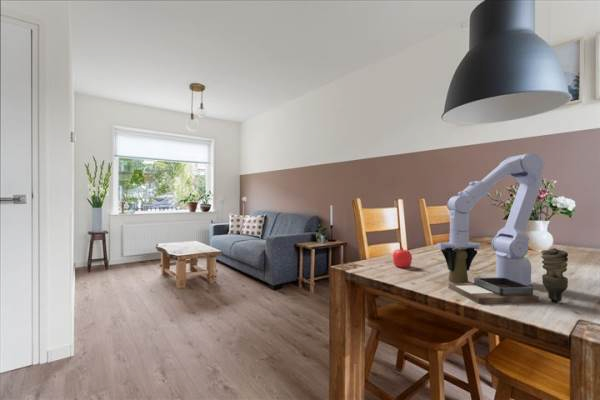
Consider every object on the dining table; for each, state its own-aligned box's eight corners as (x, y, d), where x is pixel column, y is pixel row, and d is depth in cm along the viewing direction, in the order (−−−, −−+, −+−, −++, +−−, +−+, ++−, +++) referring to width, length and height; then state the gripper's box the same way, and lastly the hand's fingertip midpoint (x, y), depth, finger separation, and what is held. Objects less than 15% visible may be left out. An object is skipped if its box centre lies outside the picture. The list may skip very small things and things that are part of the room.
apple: (416, 268, 112) (416, 249, 112) (397, 269, 111) (397, 249, 111) (406, 264, 120) (406, 245, 120) (388, 264, 119) (388, 245, 119)
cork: (451, 283, 93) (451, 250, 93) (446, 278, 99) (446, 247, 99) (471, 284, 92) (471, 251, 92) (465, 279, 98) (465, 248, 97)
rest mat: (476, 285, 86) (476, 285, 86) (493, 293, 79) (493, 292, 79) (455, 286, 85) (455, 285, 85) (471, 294, 78) (471, 293, 78)
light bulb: (539, 301, 77) (540, 247, 77) (541, 296, 81) (542, 245, 81) (567, 307, 73) (568, 250, 73) (567, 302, 77) (569, 248, 77)
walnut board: (500, 286, 90) (500, 282, 90) (538, 301, 77) (538, 296, 77) (448, 287, 88) (448, 283, 88) (478, 303, 75) (478, 298, 75)
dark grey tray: (503, 283, 89) (503, 277, 89) (534, 294, 78) (534, 287, 78) (473, 284, 88) (473, 277, 87) (500, 295, 77) (500, 288, 77)
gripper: (470, 229, 100) (469, 266, 100) (432, 229, 98) (431, 267, 99) (485, 231, 93) (484, 272, 93) (444, 231, 91) (444, 272, 92)
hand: (458, 270), depth 95 cm, fingers closed on cork, 5 cm apart
